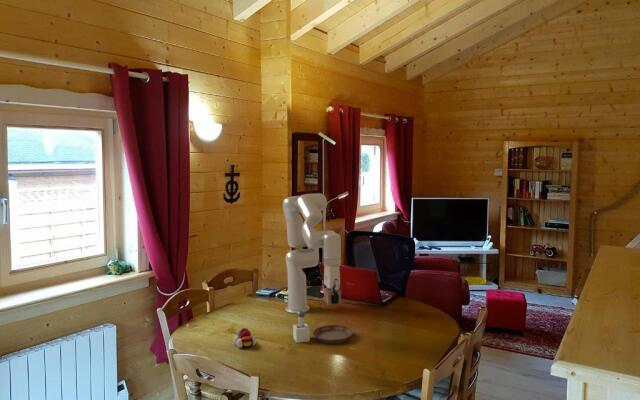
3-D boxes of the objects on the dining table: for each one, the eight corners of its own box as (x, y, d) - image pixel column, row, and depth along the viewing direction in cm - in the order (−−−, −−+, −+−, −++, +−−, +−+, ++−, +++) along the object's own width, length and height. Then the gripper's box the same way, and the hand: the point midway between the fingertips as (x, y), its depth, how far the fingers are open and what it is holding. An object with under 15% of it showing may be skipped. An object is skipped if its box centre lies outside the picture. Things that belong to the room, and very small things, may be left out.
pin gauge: (297, 338, 235) (296, 311, 233) (303, 337, 236) (303, 310, 234) (298, 341, 232) (298, 313, 230) (305, 340, 233) (305, 313, 231)
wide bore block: (293, 337, 236) (293, 324, 235) (306, 336, 237) (306, 323, 237) (296, 342, 230) (296, 329, 229) (309, 341, 232) (309, 327, 231)
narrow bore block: (324, 301, 236) (324, 288, 235) (337, 300, 237) (336, 287, 237) (328, 305, 230) (327, 291, 229) (341, 304, 232) (341, 290, 231)
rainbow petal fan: (239, 350, 222) (238, 334, 222) (231, 343, 231) (231, 327, 230) (258, 346, 226) (257, 330, 225) (250, 339, 235) (249, 323, 234)
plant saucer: (323, 348, 224) (323, 341, 224) (307, 334, 240) (306, 328, 240) (359, 341, 231) (359, 334, 231) (341, 328, 247) (341, 322, 247)
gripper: (318, 258, 239) (319, 296, 241) (329, 266, 222) (330, 307, 224) (334, 256, 241) (334, 295, 243) (346, 265, 224) (347, 306, 226)
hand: (332, 300), depth 234 cm, fingers closed on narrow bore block, 6 cm apart
